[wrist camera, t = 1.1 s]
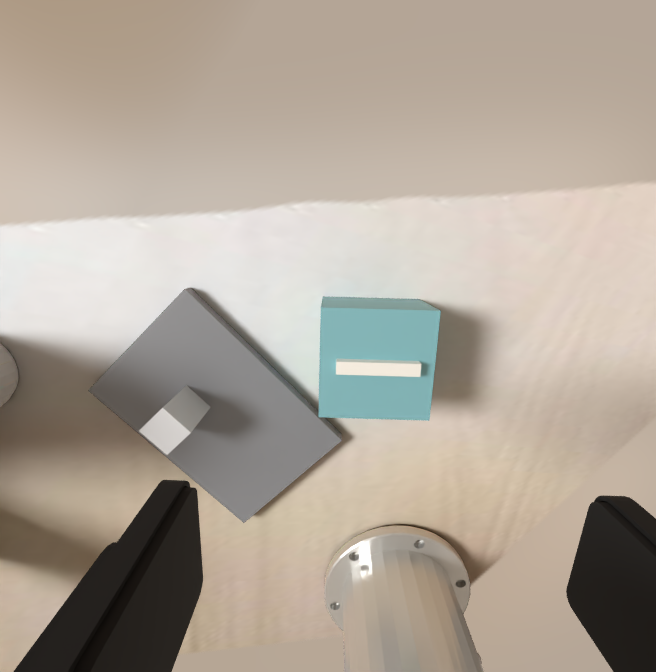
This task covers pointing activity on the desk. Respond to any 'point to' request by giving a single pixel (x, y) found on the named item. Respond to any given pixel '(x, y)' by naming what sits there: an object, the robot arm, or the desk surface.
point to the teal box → (377, 358)
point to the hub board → (215, 407)
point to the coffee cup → (7, 375)
